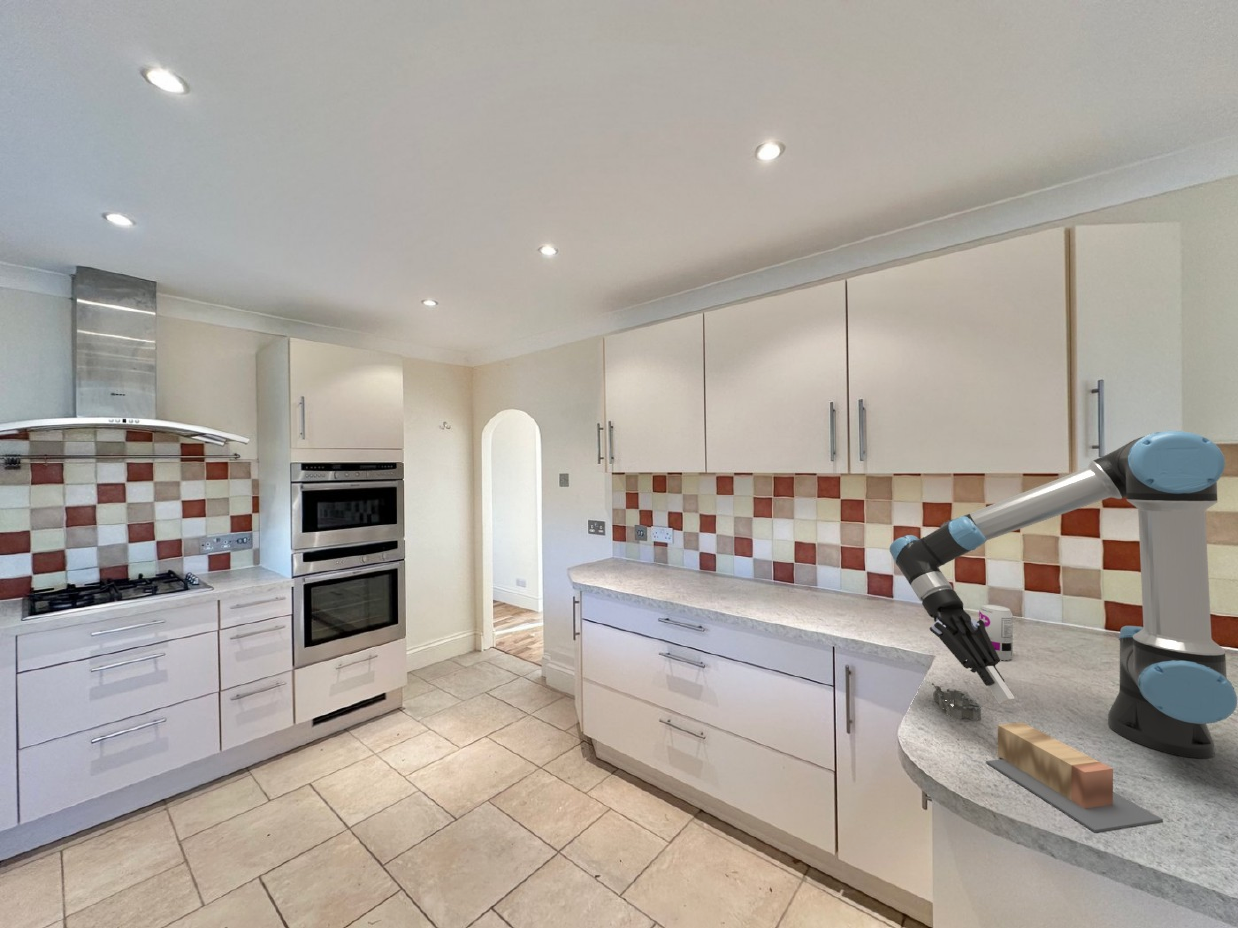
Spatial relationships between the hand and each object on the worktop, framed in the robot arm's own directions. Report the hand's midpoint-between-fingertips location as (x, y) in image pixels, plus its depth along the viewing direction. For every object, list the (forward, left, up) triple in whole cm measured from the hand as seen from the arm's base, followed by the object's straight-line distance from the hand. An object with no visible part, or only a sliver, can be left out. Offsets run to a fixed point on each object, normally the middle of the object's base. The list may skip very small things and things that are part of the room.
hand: (1007, 701), depth 96 cm
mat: (-8, +7, -10) cm, 15 cm away
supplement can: (+3, -64, -11) cm, 65 cm away
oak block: (-1, +1, -7) cm, 7 cm away
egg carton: (+9, -16, -11) cm, 21 cm away
